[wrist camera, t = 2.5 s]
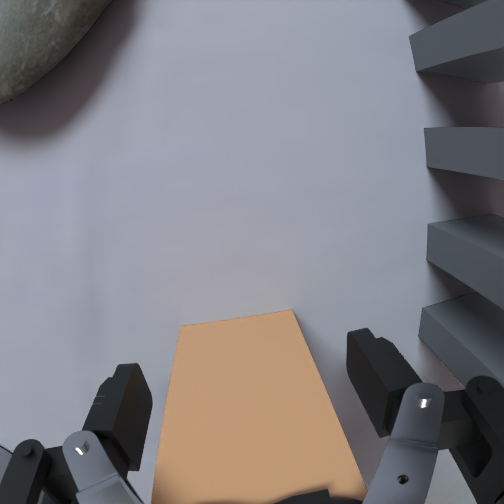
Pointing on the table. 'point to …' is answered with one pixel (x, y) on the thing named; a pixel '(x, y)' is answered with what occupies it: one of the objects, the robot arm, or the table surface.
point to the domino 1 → (249, 419)
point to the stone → (39, 38)
